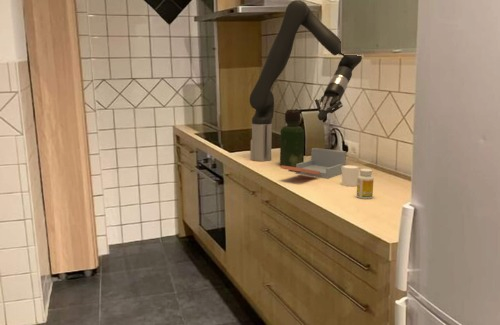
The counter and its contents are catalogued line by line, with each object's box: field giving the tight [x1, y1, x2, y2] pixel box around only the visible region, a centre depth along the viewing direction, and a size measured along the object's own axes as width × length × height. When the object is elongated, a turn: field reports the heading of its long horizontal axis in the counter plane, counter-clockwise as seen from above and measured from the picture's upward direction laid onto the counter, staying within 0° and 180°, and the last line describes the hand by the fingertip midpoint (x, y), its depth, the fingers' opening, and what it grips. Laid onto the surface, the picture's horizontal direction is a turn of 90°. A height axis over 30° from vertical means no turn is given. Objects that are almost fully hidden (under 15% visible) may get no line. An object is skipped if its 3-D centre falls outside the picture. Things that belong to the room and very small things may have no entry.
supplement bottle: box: [356, 168, 375, 200], centre depth 175 cm, size 5×5×10 cm
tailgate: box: [280, 165, 320, 175], centre depth 200 cm, size 2×9×15 cm
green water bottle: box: [279, 109, 305, 167], centre depth 226 cm, size 10×10×25 cm
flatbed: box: [295, 147, 347, 179], centre depth 213 cm, size 15×15×9 cm
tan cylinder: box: [341, 164, 360, 187], centre depth 193 cm, size 7×7×7 cm
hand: (320, 119), depth 209 cm, fingers closed
